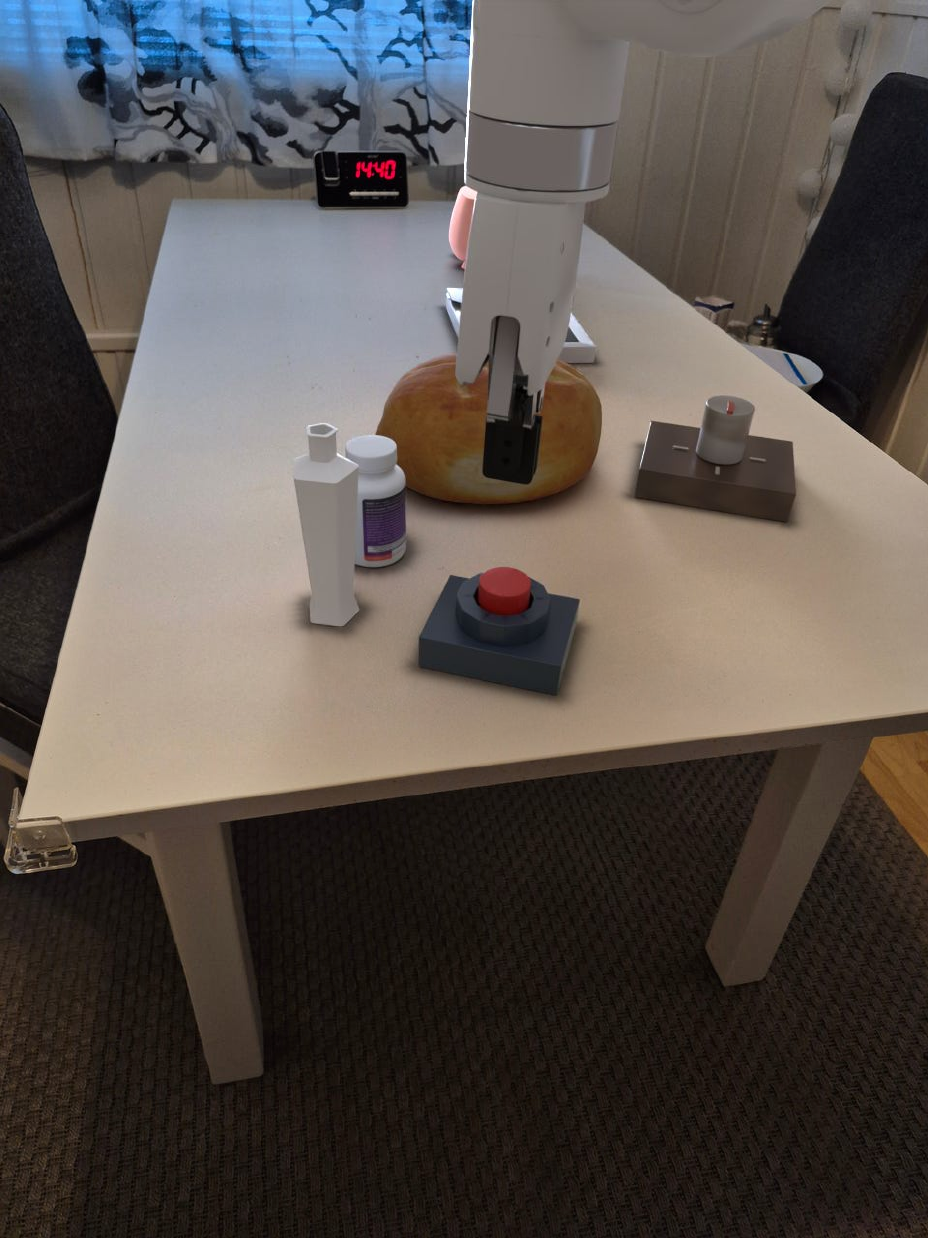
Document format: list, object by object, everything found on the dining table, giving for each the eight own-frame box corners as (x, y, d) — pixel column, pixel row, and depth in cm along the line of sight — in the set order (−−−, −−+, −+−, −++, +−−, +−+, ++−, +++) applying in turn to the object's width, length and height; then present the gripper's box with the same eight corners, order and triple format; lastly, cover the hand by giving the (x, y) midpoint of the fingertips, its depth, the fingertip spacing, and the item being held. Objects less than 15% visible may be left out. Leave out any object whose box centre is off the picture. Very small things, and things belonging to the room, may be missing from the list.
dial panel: (784, 468, 89) (793, 439, 87) (787, 522, 80) (796, 492, 78) (646, 446, 91) (651, 418, 89) (634, 497, 83) (639, 467, 81)
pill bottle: (415, 541, 75) (416, 437, 69) (391, 575, 71) (389, 467, 65) (357, 528, 76) (353, 425, 71) (330, 560, 72) (323, 453, 66)
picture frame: (446, 308, 123) (468, 365, 107) (446, 287, 121) (469, 342, 105) (555, 307, 125) (593, 362, 109) (557, 286, 124) (596, 340, 107)
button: (533, 591, 63) (535, 571, 62) (523, 621, 60) (525, 600, 59) (484, 582, 64) (486, 562, 63) (472, 611, 61) (473, 590, 60)
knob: (697, 440, 86) (708, 389, 83) (743, 447, 85) (756, 396, 82) (693, 460, 83) (705, 407, 79) (741, 468, 82) (755, 415, 79)
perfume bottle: (314, 637, 64) (299, 451, 55) (295, 604, 67) (277, 423, 58) (372, 621, 66) (367, 438, 57) (351, 590, 69) (342, 412, 60)
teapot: (530, 280, 135) (538, 195, 128) (454, 279, 134) (457, 193, 126) (511, 244, 151) (517, 166, 143) (442, 243, 149) (444, 165, 142)
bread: (339, 428, 92) (334, 334, 86) (538, 399, 100) (547, 311, 94) (417, 539, 75) (418, 432, 69) (648, 494, 83) (667, 394, 77)
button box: (575, 627, 67) (583, 578, 64) (556, 695, 60) (564, 645, 58) (449, 602, 68) (450, 554, 66) (418, 666, 62) (418, 616, 60)
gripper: (501, 125, 51) (481, 418, 62) (425, 176, 40) (417, 523, 51) (629, 139, 50) (585, 435, 61) (589, 195, 38) (544, 547, 50)
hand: (509, 474), depth 56 cm, fingers closed
